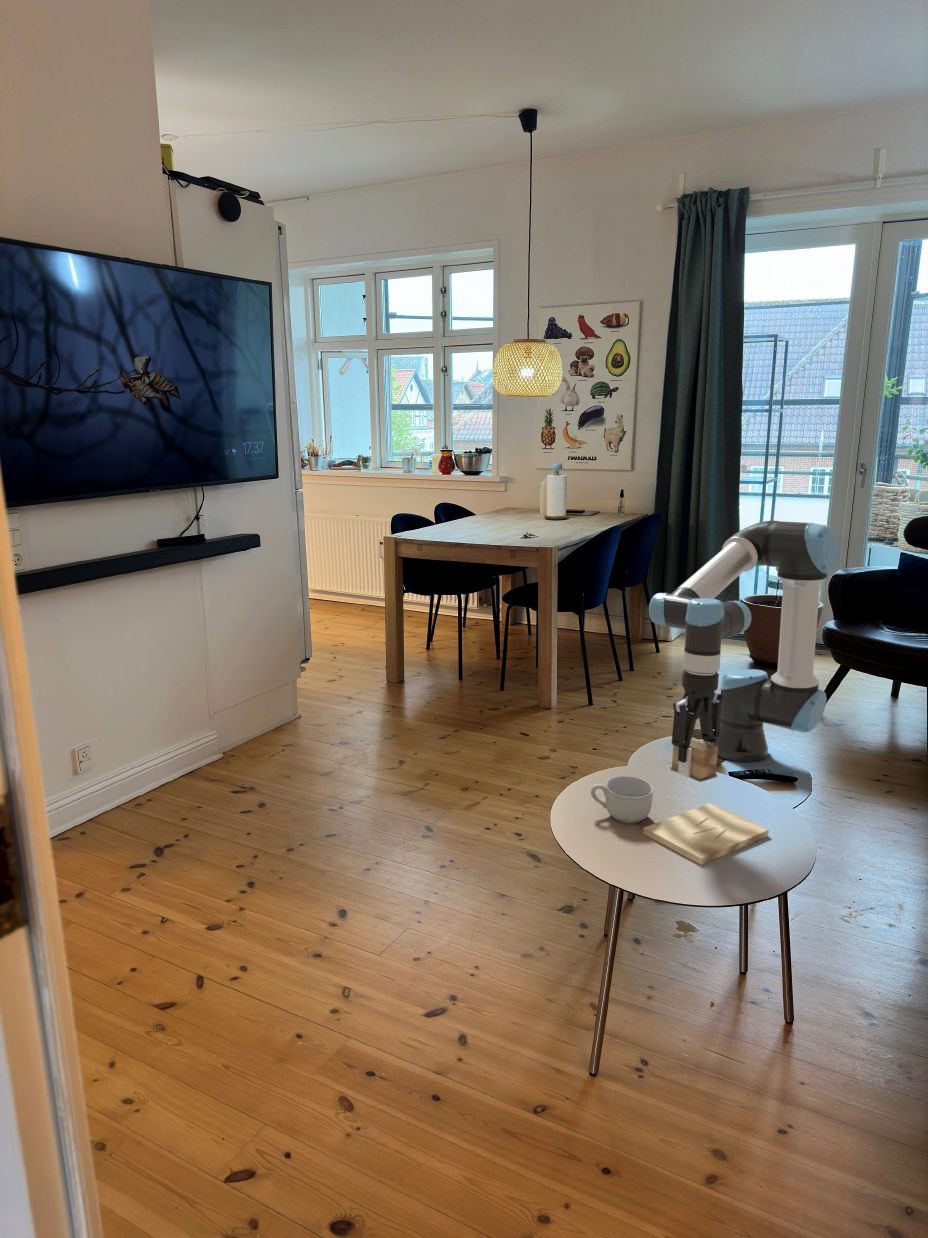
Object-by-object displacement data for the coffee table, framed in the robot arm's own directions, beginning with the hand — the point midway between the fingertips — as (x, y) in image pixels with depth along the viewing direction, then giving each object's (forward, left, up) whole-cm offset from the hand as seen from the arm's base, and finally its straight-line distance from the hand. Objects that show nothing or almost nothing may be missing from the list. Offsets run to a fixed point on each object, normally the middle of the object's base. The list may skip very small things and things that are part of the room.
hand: (693, 771), depth 179 cm
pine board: (0, +4, -13) cm, 14 cm away
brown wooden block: (0, 0, 0) cm, 0 cm away
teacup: (+9, -13, -14) cm, 21 cm away
